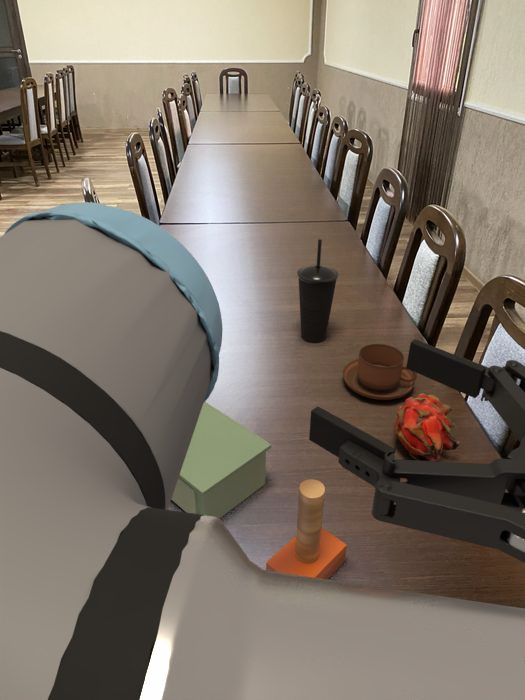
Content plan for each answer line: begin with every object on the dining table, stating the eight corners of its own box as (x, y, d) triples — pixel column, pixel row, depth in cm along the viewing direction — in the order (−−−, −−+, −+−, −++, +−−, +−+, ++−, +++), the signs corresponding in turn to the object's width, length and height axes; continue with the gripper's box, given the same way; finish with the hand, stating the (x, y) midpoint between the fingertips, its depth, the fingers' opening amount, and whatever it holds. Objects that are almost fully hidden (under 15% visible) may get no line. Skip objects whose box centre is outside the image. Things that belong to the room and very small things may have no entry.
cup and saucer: (408, 368, 97) (413, 338, 94) (417, 409, 87) (424, 377, 83) (341, 364, 98) (344, 335, 95) (342, 404, 88) (346, 372, 84)
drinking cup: (299, 348, 102) (305, 249, 92) (289, 329, 109) (293, 234, 98) (338, 344, 104) (347, 246, 93) (326, 326, 110) (333, 231, 100)
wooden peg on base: (344, 562, 62) (355, 480, 55) (300, 608, 57) (306, 524, 50) (311, 537, 65) (317, 456, 58) (265, 579, 60) (267, 496, 53)
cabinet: (270, 483, 72) (271, 444, 69) (200, 537, 65) (197, 496, 61) (191, 428, 82) (188, 390, 78) (123, 468, 74) (116, 429, 71)
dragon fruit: (414, 425, 85) (429, 489, 76) (375, 402, 82) (385, 464, 73) (456, 396, 81) (477, 459, 72) (416, 369, 78) (433, 432, 69)
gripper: (581, 741, 25) (259, 501, 38) (689, 471, 41) (434, 364, 53) (641, 652, 21) (259, 417, 34) (735, 390, 37) (449, 295, 49)
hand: (366, 384), depth 44 cm, fingers open, 13 cm apart
